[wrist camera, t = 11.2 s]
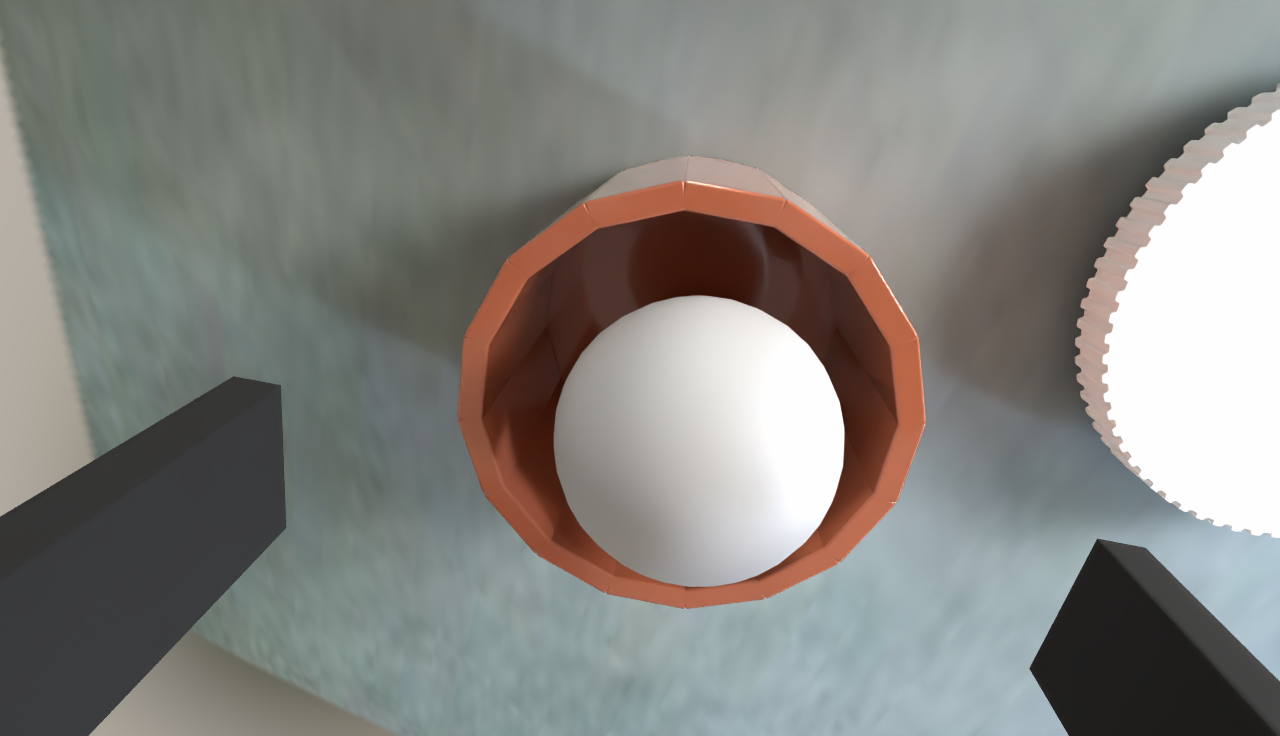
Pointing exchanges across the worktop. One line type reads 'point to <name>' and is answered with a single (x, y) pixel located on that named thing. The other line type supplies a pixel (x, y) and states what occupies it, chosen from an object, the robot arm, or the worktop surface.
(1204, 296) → the plastic lid
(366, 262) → the worktop surface
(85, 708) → the robot arm
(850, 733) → the worktop surface
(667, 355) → the lightbulb
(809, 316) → the holder
